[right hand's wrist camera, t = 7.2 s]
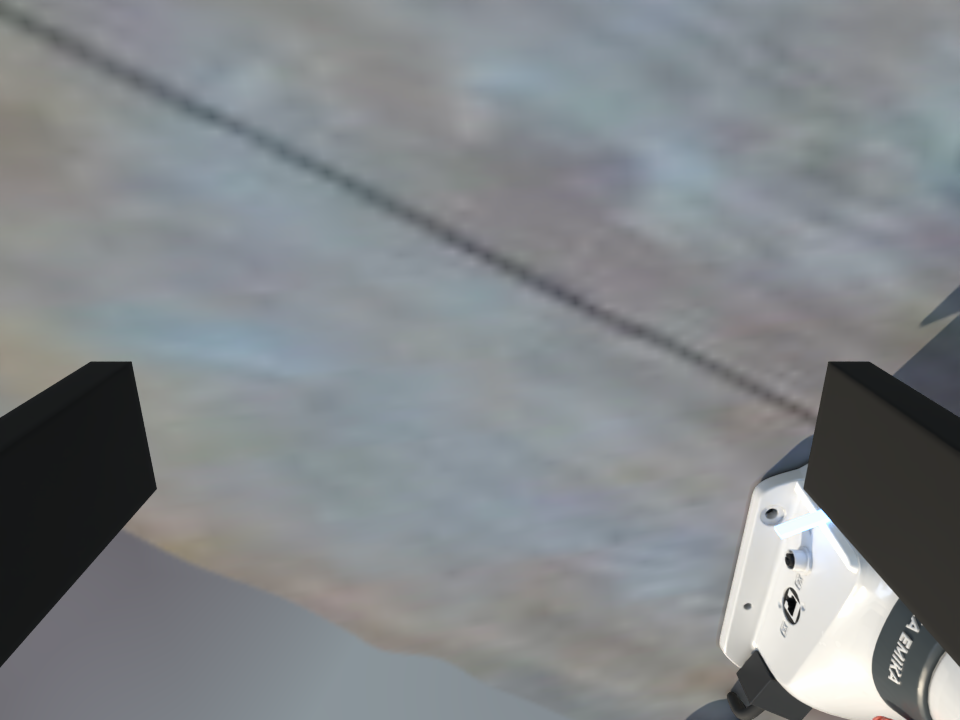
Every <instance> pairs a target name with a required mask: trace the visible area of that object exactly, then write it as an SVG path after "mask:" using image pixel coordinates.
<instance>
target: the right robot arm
mask: <svg viewBox="0 0 960 720" xmlns="http://www.w3.org/2000/svg"><path fill="white" fill-rule="evenodd" d="M156 489H157V487H156V482H155V477H154V472H153V467H152V462H151V457H150V452H149V447H148V442H147V437H146V432H145V427H144V422H143V417H142V412H141V407H140V402H139V397H138V392H137V387H136V382H135V377H134V372H133V367H132V362H89V363H88V364H86V365H85V366H83V367H81V368H80V369H78V370H77V371H75V372H73V373H72V374H70V375H68V376H67V377H65V378H64V379H62V380H60V381H59V382H57V383H56V384H54V385H52V386H51V387H49V388H48V389H46V390H44V391H43V392H41V393H39V394H38V395H36V396H35V397H33V398H31V399H30V400H28V401H27V402H25V403H23V404H22V405H20V406H18V407H17V408H15V409H14V410H12V411H10V412H9V413H7V414H6V415H4V416H2V417H1V418H0V667H1V666H2V665H3V664H4V662H5V661H6V660H7V659H8V658H9V657H10V656H11V654H12V653H13V652H14V651H15V650H16V649H17V648H18V646H19V645H20V644H21V643H22V642H23V641H24V640H25V639H26V637H27V636H28V635H29V634H30V633H31V632H32V631H33V629H34V628H35V627H36V626H37V625H38V624H39V623H40V621H41V620H42V619H43V618H44V617H45V616H46V615H47V613H48V612H49V611H50V610H51V609H52V608H53V607H54V605H55V604H56V603H57V602H58V601H59V600H60V599H61V597H62V596H63V595H64V594H65V593H66V592H67V591H68V590H69V588H70V587H71V586H72V585H73V584H74V583H75V582H76V580H77V579H78V578H79V577H80V576H81V575H82V573H83V572H84V571H85V570H86V569H87V568H88V567H89V566H90V564H91V563H92V562H93V561H94V560H95V559H96V558H97V556H98V555H99V554H100V553H101V552H102V551H103V550H104V549H105V547H106V546H107V545H108V544H109V543H110V542H111V541H112V539H113V538H114V537H115V536H116V535H117V534H118V533H119V531H120V530H121V529H122V528H123V527H124V526H125V525H126V523H127V522H128V521H129V520H130V519H131V518H132V517H133V515H134V514H135V513H136V512H137V511H138V510H139V509H140V507H141V506H142V505H143V504H144V503H145V502H146V501H147V500H148V498H149V497H150V496H151V495H152V494H153V493H154V492H155V490H156ZM803 489H804V490H805V492H806V493H807V494H808V495H809V496H810V497H811V498H812V500H813V501H814V502H815V503H816V504H817V505H818V506H819V507H820V509H821V510H822V511H823V512H824V513H825V514H826V515H827V517H828V518H829V519H830V520H831V521H832V522H833V523H834V525H835V526H836V527H837V528H838V529H839V530H840V531H841V533H842V534H843V535H844V536H845V537H846V538H847V539H848V541H849V542H850V543H851V544H852V545H853V546H854V547H855V549H856V550H857V551H858V552H859V553H860V554H861V555H862V556H863V558H864V559H865V560H866V561H867V562H868V563H869V564H870V566H871V567H872V568H873V569H874V570H875V571H876V572H877V574H878V575H879V576H880V577H881V578H882V579H883V580H884V582H885V583H886V584H887V585H888V586H889V587H890V588H891V590H892V591H893V592H894V593H895V594H896V595H897V596H898V598H899V599H900V600H901V601H902V602H903V603H904V604H905V605H906V607H907V608H908V609H909V610H910V611H911V612H912V613H913V615H914V616H915V617H916V618H917V619H918V620H919V621H920V623H921V624H922V625H923V626H924V627H925V628H926V629H927V631H928V632H929V633H930V634H931V635H932V636H933V637H934V639H935V640H936V641H937V642H938V643H939V644H940V645H941V647H942V648H943V649H944V650H945V651H946V652H947V653H948V654H949V656H950V657H951V658H952V659H953V660H954V661H955V662H956V664H957V665H958V666H959V667H960V418H959V417H958V416H956V415H954V414H953V413H951V412H950V411H948V410H946V409H945V408H943V407H942V406H940V405H938V404H937V403H935V402H933V401H932V400H930V399H929V398H927V397H925V396H924V395H922V394H921V393H919V392H917V391H916V390H914V389H912V388H911V387H909V386H908V385H906V384H904V383H903V382H901V381H900V380H898V379H896V378H895V377H893V376H892V375H890V374H888V373H887V372H885V371H883V370H882V369H880V368H879V367H877V366H875V365H874V364H872V363H871V362H828V367H827V372H826V377H825V382H824V387H823V392H822V397H821V402H820V407H819V412H818V417H817V422H816V427H815V432H814V437H813V442H812V447H811V452H810V457H809V462H808V467H807V472H806V477H805V482H804V487H803Z"/></svg>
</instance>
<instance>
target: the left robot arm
mask: <svg viewBox="0 0 960 720" xmlns="http://www.w3.org/2000/svg"><path fill="white" fill-rule="evenodd" d="M807 467H808V464H806V465H805V466H803V467H801V468H799V469H796V470H792V471H788V472H785V473H782V474H778V475H775V476H772V477H770V478H767V479H765V480H763V481H762V482H760V483H759V484H758V485H757V486H756V487H755V489H754V491H753V494H752V498H751V503H750V507H749V512H748V516H747V520H746V525H745V529H744V534H743V538H742V543H741V547H740V551H739V556H738V560H737V565H736V569H735V573H734V578H733V582H732V587H731V591H730V595H729V600H728V604H727V609H726V613H725V618H724V622H723V626H722V631H721V636H720V647H721V649H722V650H723V652H724V654H725V655H726V656H727V657H728V658H729V659H730V660H731V661H732V662H733V663H734V664H735V665H737V666H738V667H739V668H740V670H739V671H738V672H737V676H738V678H739V680H740V683H741V685H742V687H743V689H744V691H745V693H746V696H747V698H748V700H749V702H750V704H752V705H750V706H749V707H747V708H746V707H745V706H744V704H743V703H742V702H741V700H740V699H739V698H738V697H737V695H736V694H735V693H733V692H729V693H728V695H727V700H728V702H729V705H730V707H731V710H732V711H733V713H734V714H735V716H736V717H737V718H739V719H741V720H751V719H754V718H755V717H757V716H758V715H759V714H761V713H762V712H763V711H764V710H767V711H769V712H771V713H774V714H776V715H779V716H781V717H784V718H786V719H789V720H802V719H803V718H804V717H805V716H806V715H807V714H808V712H809V711H810V710H811V709H812V708H815V709H817V710H820V711H822V712H825V713H828V714H831V715H835V716H838V717H842V718H846V719H851V720H960V667H959V666H958V665H957V664H956V662H955V661H954V660H953V659H952V658H951V657H950V656H949V654H948V653H947V652H946V651H945V650H944V649H943V648H942V647H941V645H940V644H939V643H938V642H937V641H936V640H935V639H934V637H933V636H932V635H931V634H930V633H929V632H928V631H927V629H926V628H925V627H924V626H923V625H922V624H921V623H920V621H919V620H918V619H917V618H916V617H915V616H914V615H913V613H912V612H911V611H910V610H909V609H908V608H907V607H906V605H905V604H904V603H903V602H902V601H901V600H900V599H899V598H898V596H897V595H896V594H895V593H894V592H893V591H892V590H891V588H890V587H889V586H888V585H887V584H886V583H885V582H884V580H883V579H882V578H881V577H880V576H879V575H878V574H877V572H876V571H875V570H874V569H873V568H872V567H871V566H870V564H869V563H868V562H867V561H866V560H865V559H864V558H863V556H862V555H861V554H860V553H859V552H858V551H857V550H856V549H855V547H854V546H853V545H852V544H851V543H850V542H849V541H848V539H847V538H846V537H845V536H844V535H843V534H842V533H841V531H840V530H839V529H838V528H837V527H836V526H835V525H834V523H833V522H832V521H831V520H830V519H829V518H828V517H827V515H826V514H825V513H824V512H823V511H822V510H821V509H820V507H819V506H818V505H817V504H816V503H815V502H814V501H813V500H812V498H811V497H810V496H809V495H808V494H807V493H806V492H805V490H804V489H803V487H804V482H805V477H806V472H807ZM772 508H773V510H772V511H771V512H770V513H766V512H767V511H768V510H769V509H772Z"/></svg>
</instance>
